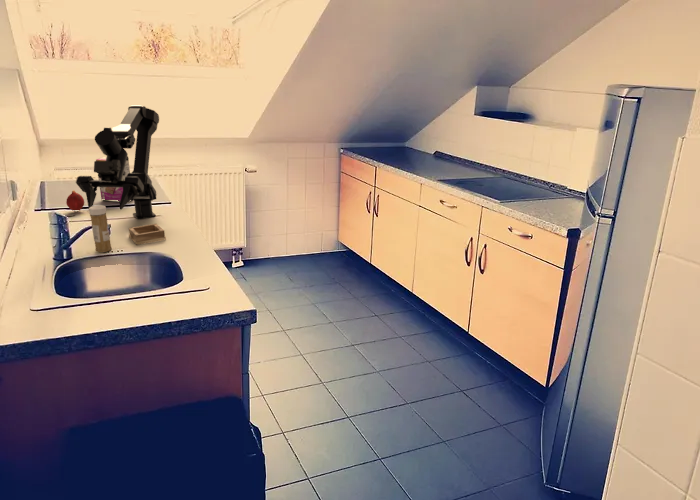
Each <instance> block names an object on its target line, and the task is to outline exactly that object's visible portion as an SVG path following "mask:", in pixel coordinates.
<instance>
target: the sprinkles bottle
mask: <svg viewBox="0 0 700 500" xmlns="http://www.w3.org/2000/svg"><path fill="white" fill-rule="evenodd" d="M88 213H89V216H90V220H91V221H90V223H91V228H92V235H93V241H94V245H95V250H94V251H96V252H97V253H100V254H101V253H107V252H110V251H111V250H112V244H111V236H110V235H111V234H110V230H109V224H108V218H107V207H106V206H105V205H101V204H98V205H93V206H92V207H90V208H88Z"/></svg>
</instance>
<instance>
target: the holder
mask: <svg viewBox="0 0 700 500" xmlns="http://www.w3.org/2000/svg"><path fill="white" fill-rule="evenodd" d="M128 232H129V234H128V237H129V239H130V240H132V242H134V244H135V245H136V246H137V245H143V244H149V243H150V244H151V243H155V242H160V241H166V240H167V237H166V236H165V233H166V232H165V230H164V229H163V228H162V227H161V226H160V225H159V224H157V223H150V224H146V225H145V224H144V225H140V226H139V225H138V226H133V227H129V228H128Z"/></svg>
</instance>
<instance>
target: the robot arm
mask: <svg viewBox="0 0 700 500" xmlns="http://www.w3.org/2000/svg"><path fill="white" fill-rule="evenodd" d="M127 109H128V110H127V112H126V114H125V115H124V117H123V118H122V120H121V122H120V123H119V125H116V126H113V127H103V130H100V131H99V132H98V133H97V134H95V137H94V142H95V144H96V145H97V146H98V147H99V149H100V151H101V153H102V154H103V155H104V156H105V157H107V158H106V161H96V160H95V161H94V163H93V173H97V178H98V177H99V178H101V180H99V178H98V180H97V179H96V180H95V179H94V178H93V177H92V175H79V176H77V178H76V180H75V184H76V185H77V186H78V188H80V190H81V191H82V192H83V193H85V195H86V201H87V207H88V209H89V208H90V207H92V206H94V203H95V200H96V198H97V197H96V196H97V190H98V188H100V187H120V188H123V193H122V196H121V200H120V202H119V207H118V208H119V210H120V211H121V210H123V209H124V207H125V206H127V204H128V203H130V202H131V201H130V200H132V201H133V204H134V209H135V210H134V211H135V213H134V212H133V213H132V215H133V217H134V218H135V219H137V220H141V219H146V218H154V217H156V216H157V215H156V214H155V213H154V212H153V206H152V204H153V203H152V201H153V200H154V201H155V200H157V191H156V189H155V188H154V186H153V181H152V180H151V177H150V176H149V173H148V172H149V164H150V163H149V162H150V154H151V153H150V152H151V143H152V136H153V135H154V134H155V132H157V129H158V125H159V123H160V116H159V114H158V112H156V110H154V109H151V108H149V107H146V106H145V105H144V106H143V105H138V104H137V105H134V104H133V105H132V104H131V105H129V106H128V108H127ZM135 132H137V133H136V138H135V135H134V134H135ZM134 145H135V152H134V160H133V170H132V171H131V172H130V173H128V175H127V176H126V177H125V181H122V177H123V175H125V171H124V168H125V164H126V161H128V160H129V156H128V152H127V149H132V148H133V146H134ZM129 201H130V202H129Z"/></svg>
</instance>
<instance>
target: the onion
mask: <svg viewBox="0 0 700 500" xmlns="http://www.w3.org/2000/svg"><path fill="white" fill-rule="evenodd" d="M65 202H66V206H67V207H68V208H69V209H70V210H72V211H73V210H79V211H81V210H82V209H83V208H84V205H85V199H84V198H83V196H82V194H79V193H78V192H76V191H75V190H74V189H73V190H72V191H71V193H70V194H69V195H68V196H67V198H66V201H65Z"/></svg>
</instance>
